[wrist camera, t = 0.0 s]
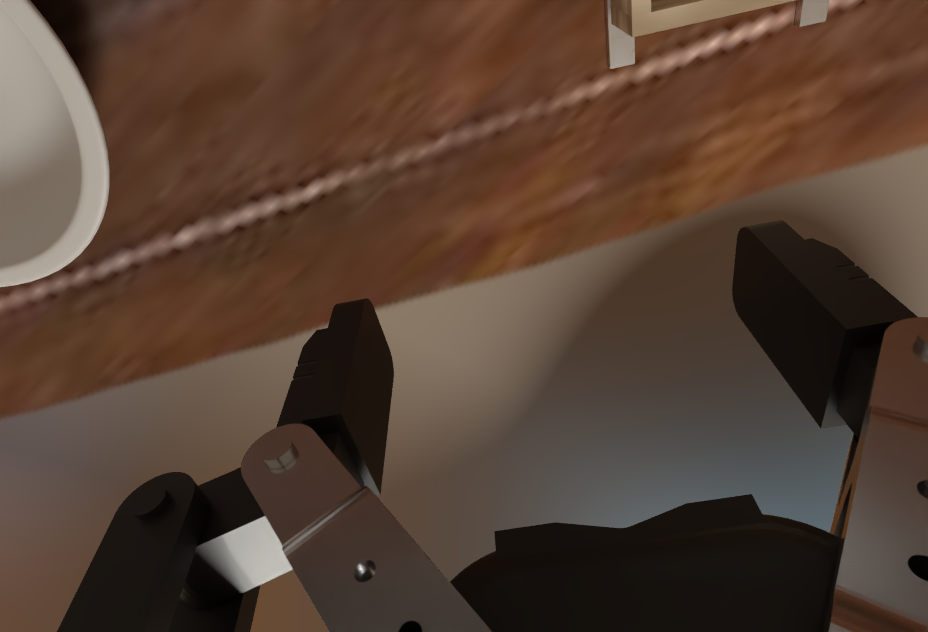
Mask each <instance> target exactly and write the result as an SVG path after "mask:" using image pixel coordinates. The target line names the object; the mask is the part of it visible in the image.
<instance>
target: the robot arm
mask: <svg viewBox="0 0 928 632" xmlns="http://www.w3.org/2000/svg"><path fill="white" fill-rule="evenodd" d="M732 295H733V302H734V306H735V309H736V312H737V314H738V316H739V317H740V318H741V320H742V321H743V323H744V324H745V326H746V327H747V328H748V330H749V331H750V332H751V334H752V335H753V337H754V338H755V339H756V341H757V342H758V343H759V345H760V346H761V347H762V349H763V350H764V352H765V353H766V354H767V355H768V357H769V358H770V360H771V361H772V362H773V364H774V365H775V366H776V368H777V369H778V371H779V372H780V373H781V375H782V376H783V377H784V379H785V380H786V382H787V383H788V384H789V386H790V387H791V388H792V390H793V391H794V392H795V394H796V395H797V397H798V398H799V399H800V401H801V402H802V403H803V405H804V406H805V408H806V409H807V410H808V412H809V413H810V414H811V416H812V417H813V418H814V420H815V421H816V423H817V424H818V425H819V427H820V428H828V427H834V426H841V425H848V426H849V428H850V429H851V430H852V431H853V436H852V440H851V443H850V446H849V451H848V455H847V460H846V464H845V469H844V473H843V478H842V482H841V487H840V491H839V495H838V500H837V504H836V508H835V513H834V517H833V521H832V525H831V530H830V533H828V532H826V531H824V530H822V529H819V528H816V527H814V526H811V525H808V524H806V523H802V522H799V521H795V520H792V519H788V518H783V517H778V516H772V515H763V514H762V513H761V511H760V509H759V507H758V505H757V504H756V502H755V500H754V498H753V496H752V495H751V494H749V495H743V496H736V497H730V498H722V499H715V500H708V501H701V502H694V503H687V504H684V505H682V506H679V507H677V508H674V509H672V510H670V511H667V512H665V513H663V514H660V515H658V516H655V517H652V518H650V519H648V520H645V521H643V522H640V523H638V524H635V525H633V526H630V527H627V528H609V527H597V526H587V525H576V524H565V523H549V524H542V525H536V526H529V527H522V528H515V529H509V530H501V531H495V544H496V551H495V552H492V553H490V554H488V555H486V556H484V557H482V558H480V559H479V560H477V561H475V562H473V563H472V564H471V565H469V566H468V567H466V568H465V569H464V570H462V571H461V572H460V573H459V574H458V575H457V576H456V577H455V578H454V579H452V580H451V581H450V582H449V581H448V579H447V578H446V577H445V576H444V575H443V573H442V572H441V571H440V570H439V569H438V568H437V566H436V565H435V564H434V563H433V562H432V561H431V559H430V558H429V557H428V556H427V555H426V553H425V552H424V551H423V550H422V549H421V548H420V546H419V545H418V544H417V543H416V542H415V541H414V539H413V538H412V537H411V536H410V535H409V534H408V532H407V531H406V530H405V529H404V528H403V527H402V525H401V524H400V523H399V522H398V521H397V520H396V518H395V517H394V516H393V515H392V514H391V513H390V511H389V510H388V509H387V508H386V507H385V506H384V505H383V503H382V502H381V501H380V500H379V498H378V497H377V495H380V494H381V485H382V475H383V467H384V458H385V450H386V440H387V432H388V431H387V430H388V422H389V413H390V405H391V396H392V388H393V378H394V369H393V361H392V356H391V352H390V349H389V347H388V344H387V341H386V338H385V336H384V333H383V330H382V328H381V325H380V323H379V320H378V317H377V315H376V312H375V309H374V307H373V304H372V302H371V301H370V300H369V299H368V298H366V299H361V300H356V301H351V302H345V303H340V304H336V305H335V306H334V308H333V312H332V315H331V319H330V322H329V326H328V328H326V329H321V330H317V331H316V332H315V333H314V334H313V335H312V337H311V338H310V339H309V340H308V341H307V343H306V344H305V345H304V346H303V348H302V351H301V355H300V357H299V360H298V366H297V367H296V370H295V373H294V376H293V379H294V380H292V382H291V385H290V388H289V391H288V394H287V397H286V400H285V403H284V406H283V409H282V412H281V415H280V418H279V421H278V424H277V427H276V428H275V429H273V430H271V431H269V432H267V433H265V434H264V435H263V436H261V437H260V438H259V439H258V440H257V441H255V442H254V443H253V444H252V445H251V447H250V448H249V449H248V451H247V452H246V454H245V456H244V457H243V460H242V463H241V467H240V468H238V469H236V470H234V471H232V472H229V473H227V474H225V475H222V476H220V477H218V478H215V479H213V480H211V481H209V482H206V483H204V484H201V485H199V486H198V485H197V484H196V483H195V482H194V480H193V479H192V478H191V477H190V476H189V475H187V474H185V473H182V472H171V473H166V474H162V475H160V476H157V477H155V478H153V479H151V480H149V481H147V482H146V483H144V484H143V485H141V486H140V487H138V488H137V489H136V490H134V491H133V492H132V493H131V494H130V495H129V496H128V497H127V498H126V499H125V500H124V501H123V503H122V504H121V505H120V507H119V508H118V510H117V512H116V513H115V515H114V517H113V520H112V522H111V524H110V526H109V528H108V530H107V532H106V534H105V536H104V538H103V540H102V542H101V544H100V546H99V548H98V550H97V552H96V554H95V556H94V558H93V560H92V562H91V564H90V566H89V568H88V570H87V572H86V574H85V576H84V578H83V580H82V582H81V584H80V586H79V588H78V590H77V592H76V594H75V597H74V598H73V600H72V602H71V605H70V607H69V609H68V611H67V613H66V615H65V617H64V619H63V621H62V623H61V625H60V627H59V629H58V631H57V632H250V630H251V625H252V621H253V616H254V612H255V607H256V603H257V598H258V594H259V589H260V585H261V584H263V583H265V582H267V581H269V580H271V579H274V578H276V577H278V576H280V575H282V574H284V573H286V572H288V571H290V570H294V572H295V573H296V575H297V577H298V579H299V580H300V582H301V584H302V585H303V587H304V589H305V590H306V592H307V594H308V596H309V597H310V599H311V601H312V603H313V604H314V606H315V608H316V610H317V611H318V613H319V615H320V616H321V618H322V620H323V621H324V623H325V625H326V627H327V629H328V630H329V632H928V317H917V316H916V315H915V314H914V313H913V312H911V311H910V310H909V309H908V308H907V307H906V306H904V305H903V304H902V303H901V302H899V301H898V300H897V299H896V298H895V297H894V296H893V295H891V294H890V293H889V292H888V291H887V290H885V289H884V288H883V287H882V286H881V285H880V284H878V283H877V282H876V281H875V280H874V279H872V278H870V279H869V277H868V274H867V273H865V272H864V271H863V270H862V269H860V267H858V266H855V265H854V262H852V261H851V260H850V259H849V258H848V257H847V256H845V255H844V254H843V253H842V252H841V251H839V250H838V249H837V248H834V247H832V246H830V245H827V244H825V243H822V242H820V241H817V240H815V239H813V238H812V239H806V240H804V239H803V238H802V237H801V236H800V235H798V233H796V232H795V231H794V230H793V229H792V228H791V227H790V226H789V225H788V224H787V223H785V222H784V221H781V220H778V221H773V222H768V223H763V224H757V225H753V226H747V227H743V228H741V229H740V231H739V233H738V236H737V245H736V254H735V264H734V275H733V285H732Z"/></svg>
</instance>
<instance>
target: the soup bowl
mask: <svg viewBox="0 0 928 632" xmlns="http://www.w3.org/2000/svg"><path fill="white" fill-rule="evenodd" d="M109 187H110V166H109V157H108V149H107V144H106V140H105V135H104V131H103V127H102V124H101V121H100V118H99V115H98V112H97V109H96V107H95V104H94V102H93V99H92V97H91V94H90V92H89V90H88V88H87V86H86V84H85V82H84V80H83V78H82V76H81V74H80V72H79V70H78V68H77V66H76V64H75V63H74V61H73V59H72V58H71V56H70V54H69V53H68V51H67V50H66V48H65V46H64V45H63V43H62V42H61V40H60V39H59V37H58V36H57V35H56V33H55V32H54V30H53V29H52V27H51V26H50V25H49V23H48V22H47V21H46V19H45V18H44V17H43V16H42V14H41V13H40V12H39V11H38V9H37V8H36V7H35V6H34V4H33V3H32V2H31V1H30V0H0V287H4V286H12V285H18V284H22V283H27V282H31V281H34V280H37V279H40V278H42V277H45V276H48V275H50V274H52V273H54V272H56V271H58V270H60V269H61V268H63V267H64V266H66V265H67V264H69V263H70V262H72V261H73V260H74V259H75V258H76V257H77V256H79V255H80V254H81V253H82V252H83V250H84V249H85V248H86V247H87V246H88V245H89V243H90V242H91V240H92V239H93V237H94V236H95V234H96V232H97V231H98V228H99V226H100V224H101V221H102V219H103V217H104V213H105V209H106V206H107V202H108V195H109Z"/></svg>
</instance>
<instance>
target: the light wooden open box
mask: <svg viewBox="0 0 928 632" xmlns="http://www.w3.org/2000/svg"><path fill="white" fill-rule="evenodd" d="M790 1H794V0H610V2H611V24H612V25H614V26H616V27H617V28H619V29H620V30H622V31H623V32H625V33H626V34H628V35H629V36H631V37H636V36H641V35H645V34H650V33H654V32H658V31H663V30H667V29H671V28H676V27H680V26H685V25H689V24H693V23H698V22H702V21H707V20H711V19H715V18H720V17H724V16H729V15H733V14H737V13H742V12H746V11H751V10H755V9H759V8H764V7H768V6H773V5H777V4H781V3H786V2H790Z"/></svg>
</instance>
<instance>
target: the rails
mask: <svg viewBox="0 0 928 632" xmlns="http://www.w3.org/2000/svg"><path fill="white" fill-rule="evenodd" d="M828 4H829V0H797V5H796V13H795V21H794V25H795V26H798V27H801V26H806V25H810V24H815V23H819V22H824V21H826V16H827V10H828ZM605 19H606V39H607V59H608V67H609V68H610V69H613V68H617V67H622V66H626V65H631V64H635V45H634V37H631V36H629V35H628V34H626V33H625V32H623V31H622V30H620V29H619V28H617V27H616V26H614V25H612V24H611V2H610V0H605Z"/></svg>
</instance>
